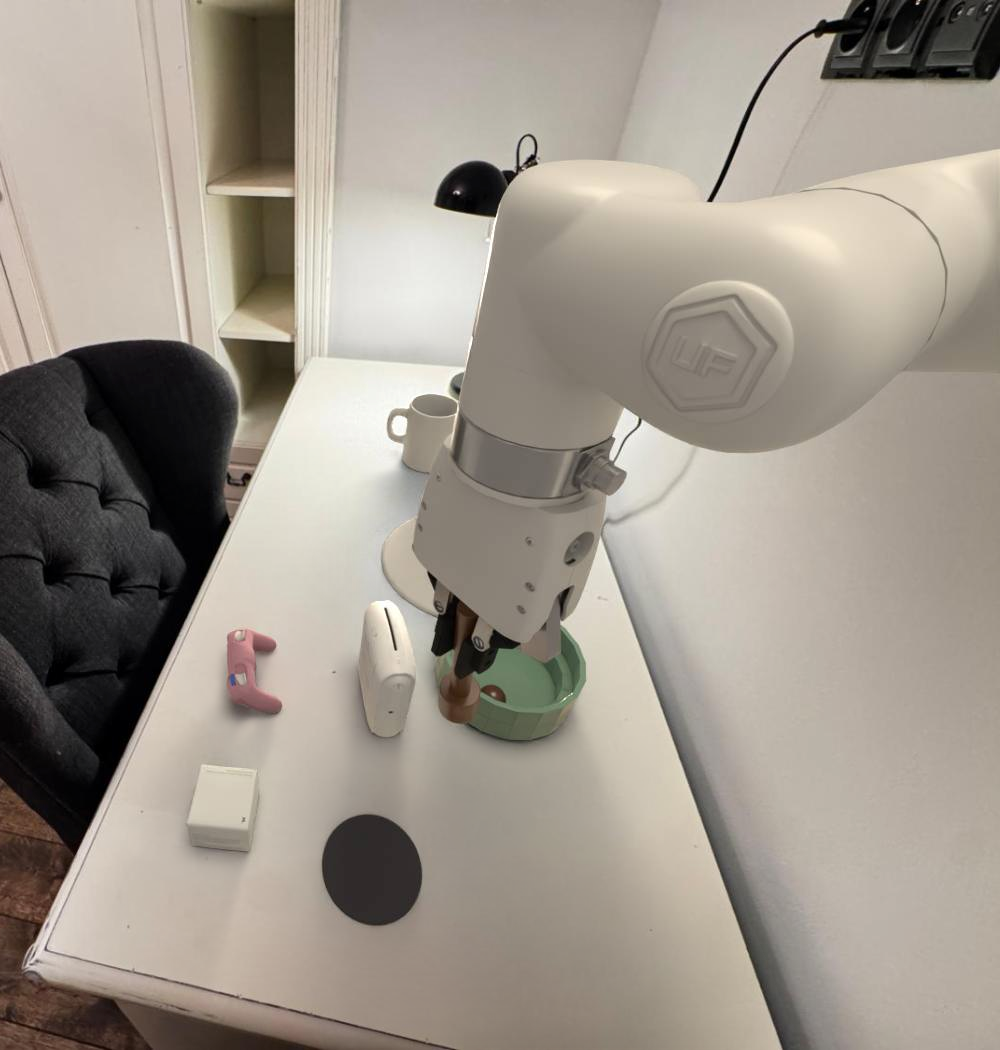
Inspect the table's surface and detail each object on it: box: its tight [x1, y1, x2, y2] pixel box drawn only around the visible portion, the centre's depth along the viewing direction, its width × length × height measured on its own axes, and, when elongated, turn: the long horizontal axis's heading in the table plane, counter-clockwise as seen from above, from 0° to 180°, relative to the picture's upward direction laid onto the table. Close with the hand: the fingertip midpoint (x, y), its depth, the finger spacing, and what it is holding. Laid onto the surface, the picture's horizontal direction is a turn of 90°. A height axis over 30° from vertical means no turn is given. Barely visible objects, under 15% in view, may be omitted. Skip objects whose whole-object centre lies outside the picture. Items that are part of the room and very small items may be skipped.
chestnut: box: [481, 685, 506, 703], centre depth 63 cm, size 3×3×3 cm
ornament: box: [380, 517, 439, 618], centre depth 78 cm, size 22×13×17 cm, turn 155°
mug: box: [386, 393, 459, 474], centre depth 99 cm, size 12×8×11 cm
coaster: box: [321, 813, 423, 926], centre depth 52 cm, size 9×9×1 cm
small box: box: [185, 764, 260, 852], centre depth 53 cm, size 6×6×5 cm
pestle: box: [437, 600, 481, 725], centre depth 43 cm, size 3×3×14 cm
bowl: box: [434, 624, 587, 741], centre depth 65 cm, size 15×15×6 cm
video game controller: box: [226, 628, 283, 714], centre depth 65 cm, size 10×5×7 cm, turn 6°
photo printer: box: [357, 600, 417, 738], centre depth 61 cm, size 10×4×12 cm, turn 4°
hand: (460, 656), depth 42 cm, fingers closed on pestle
